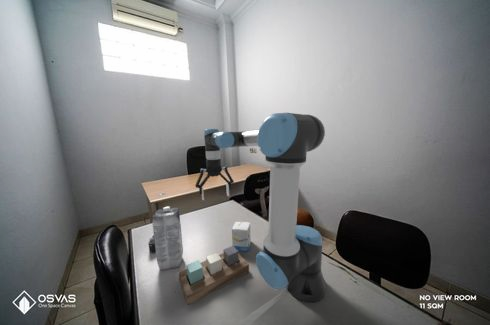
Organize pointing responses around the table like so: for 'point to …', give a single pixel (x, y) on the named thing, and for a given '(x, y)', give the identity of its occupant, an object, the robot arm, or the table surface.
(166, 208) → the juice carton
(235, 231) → the ink box
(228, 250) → the block
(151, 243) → the camera
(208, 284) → the keypad base
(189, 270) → the key teal
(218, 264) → the key ivory
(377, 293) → the table surface
